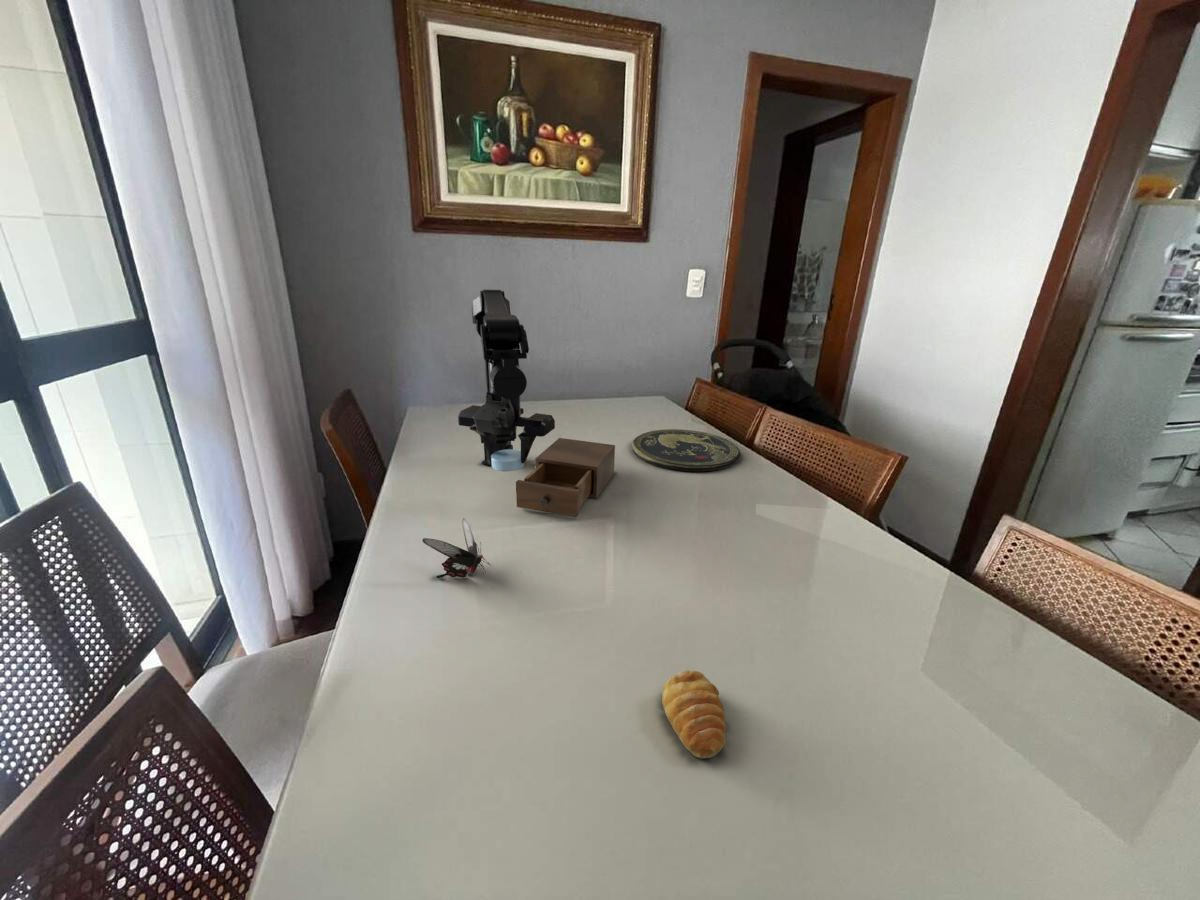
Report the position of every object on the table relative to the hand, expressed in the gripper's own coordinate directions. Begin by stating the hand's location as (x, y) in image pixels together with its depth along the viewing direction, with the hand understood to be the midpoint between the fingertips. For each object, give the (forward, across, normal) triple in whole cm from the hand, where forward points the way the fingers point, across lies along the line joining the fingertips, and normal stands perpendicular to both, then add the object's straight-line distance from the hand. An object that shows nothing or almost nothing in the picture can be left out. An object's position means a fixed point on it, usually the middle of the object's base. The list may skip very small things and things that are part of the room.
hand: (508, 460), depth 99 cm
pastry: (+11, +44, -38) cm, 60 cm away
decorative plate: (+11, +30, +47) cm, 57 cm away
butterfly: (+11, +4, -25) cm, 28 cm away
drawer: (+10, +9, +6) cm, 14 cm away
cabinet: (+11, +8, +18) cm, 23 cm away
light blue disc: (+1, 0, 0) cm, 1 cm away
